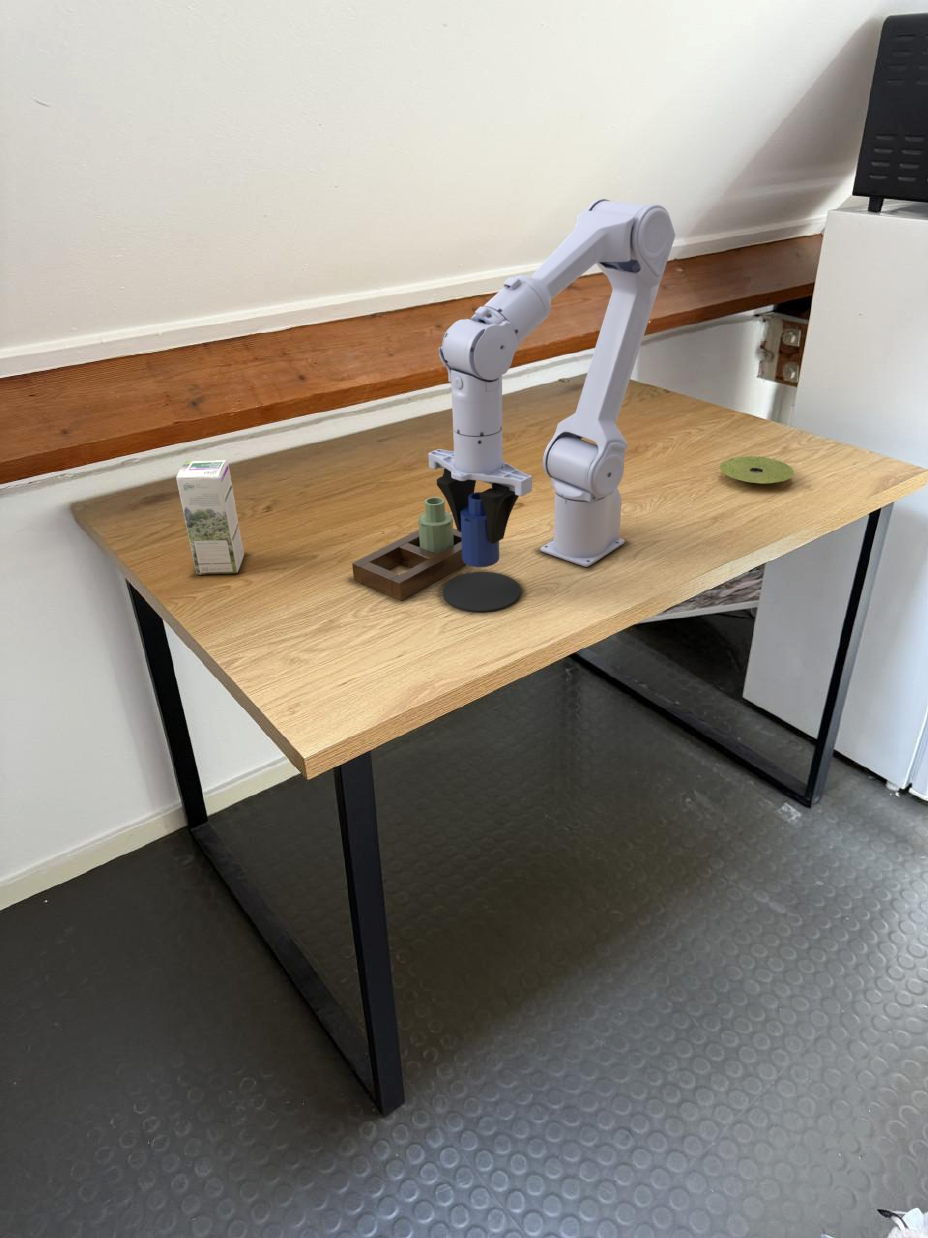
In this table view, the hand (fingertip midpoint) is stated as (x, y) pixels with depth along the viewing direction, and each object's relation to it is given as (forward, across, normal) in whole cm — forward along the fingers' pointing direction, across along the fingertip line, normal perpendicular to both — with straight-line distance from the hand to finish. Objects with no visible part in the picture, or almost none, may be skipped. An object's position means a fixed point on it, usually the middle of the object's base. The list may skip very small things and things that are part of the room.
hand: (480, 534), depth 112 cm
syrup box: (+8, -33, -16) cm, 38 cm away
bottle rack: (+8, -11, 0) cm, 14 cm away
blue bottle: (+3, 0, 0) cm, 3 cm away
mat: (+8, +11, +54) cm, 56 cm away
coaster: (+8, 0, 0) cm, 8 cm away
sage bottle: (+8, -11, +4) cm, 14 cm away
